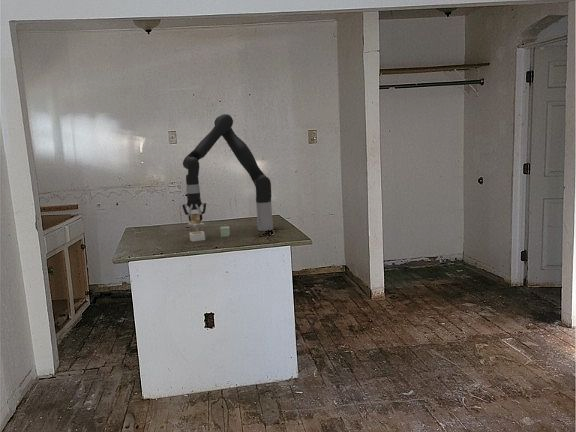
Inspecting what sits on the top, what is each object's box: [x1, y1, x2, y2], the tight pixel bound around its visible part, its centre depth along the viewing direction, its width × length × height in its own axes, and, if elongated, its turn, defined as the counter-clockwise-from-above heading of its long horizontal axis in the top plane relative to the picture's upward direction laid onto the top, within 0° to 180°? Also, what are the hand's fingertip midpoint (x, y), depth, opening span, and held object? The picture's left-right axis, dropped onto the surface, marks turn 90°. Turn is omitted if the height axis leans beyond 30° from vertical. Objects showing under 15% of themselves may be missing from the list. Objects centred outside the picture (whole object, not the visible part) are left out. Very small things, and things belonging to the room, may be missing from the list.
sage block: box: [219, 225, 231, 238], centre depth 304 cm, size 5×5×5 cm
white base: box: [189, 230, 206, 242], centre depth 298 cm, size 8×8×4 cm
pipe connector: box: [187, 221, 206, 232], centre depth 317 cm, size 10×10×10 cm
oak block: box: [190, 213, 202, 224], centre depth 297 cm, size 5×5×5 cm
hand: (195, 221), depth 297 cm, fingers closed on oak block, 5 cm apart
